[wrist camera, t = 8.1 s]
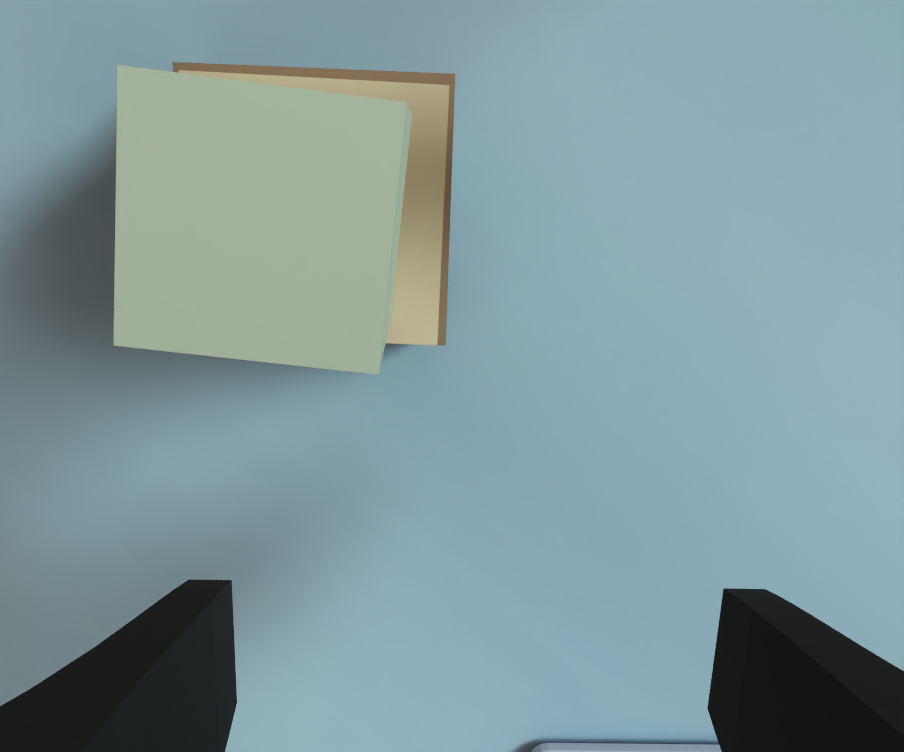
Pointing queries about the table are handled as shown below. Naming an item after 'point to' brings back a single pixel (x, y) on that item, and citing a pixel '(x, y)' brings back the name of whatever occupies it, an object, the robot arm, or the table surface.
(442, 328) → the tower base
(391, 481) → the table surface
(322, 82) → the tower mid
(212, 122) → the top block
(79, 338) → the table surface
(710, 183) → the table surface
